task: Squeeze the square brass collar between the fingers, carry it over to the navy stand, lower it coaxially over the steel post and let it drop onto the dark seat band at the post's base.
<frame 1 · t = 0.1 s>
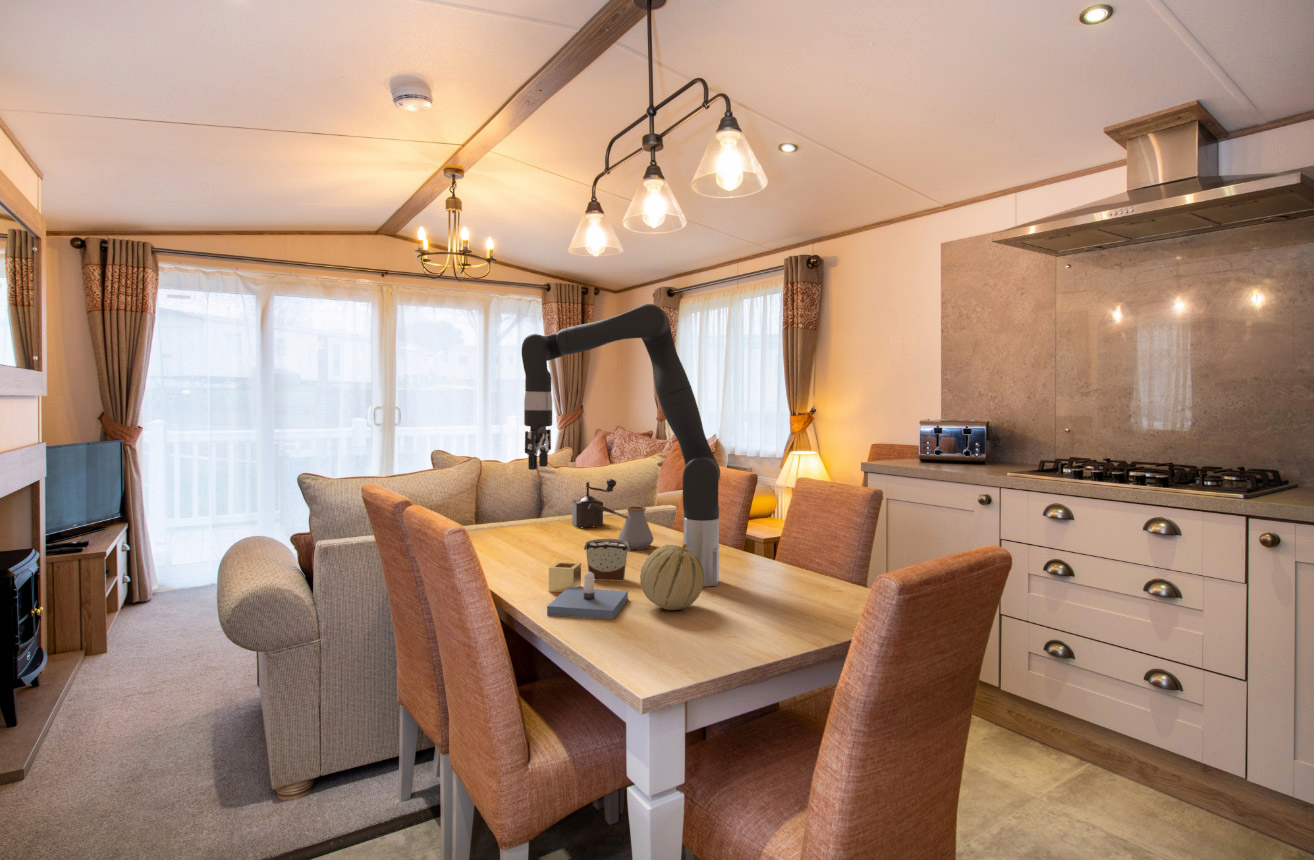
hand: (538, 468, 182), 29 cm above the table, tool pointing down, fingers open, 8 cm apart
food container: (608, 578, 180), on the table
post stand: (589, 606, 154), on the table
cantaloupe: (672, 609, 154), on the table
brass collar: (565, 588, 169), on the table
manual coffee grinder: (594, 525, 255), on the table
coffee pot: (620, 548, 216), on the table
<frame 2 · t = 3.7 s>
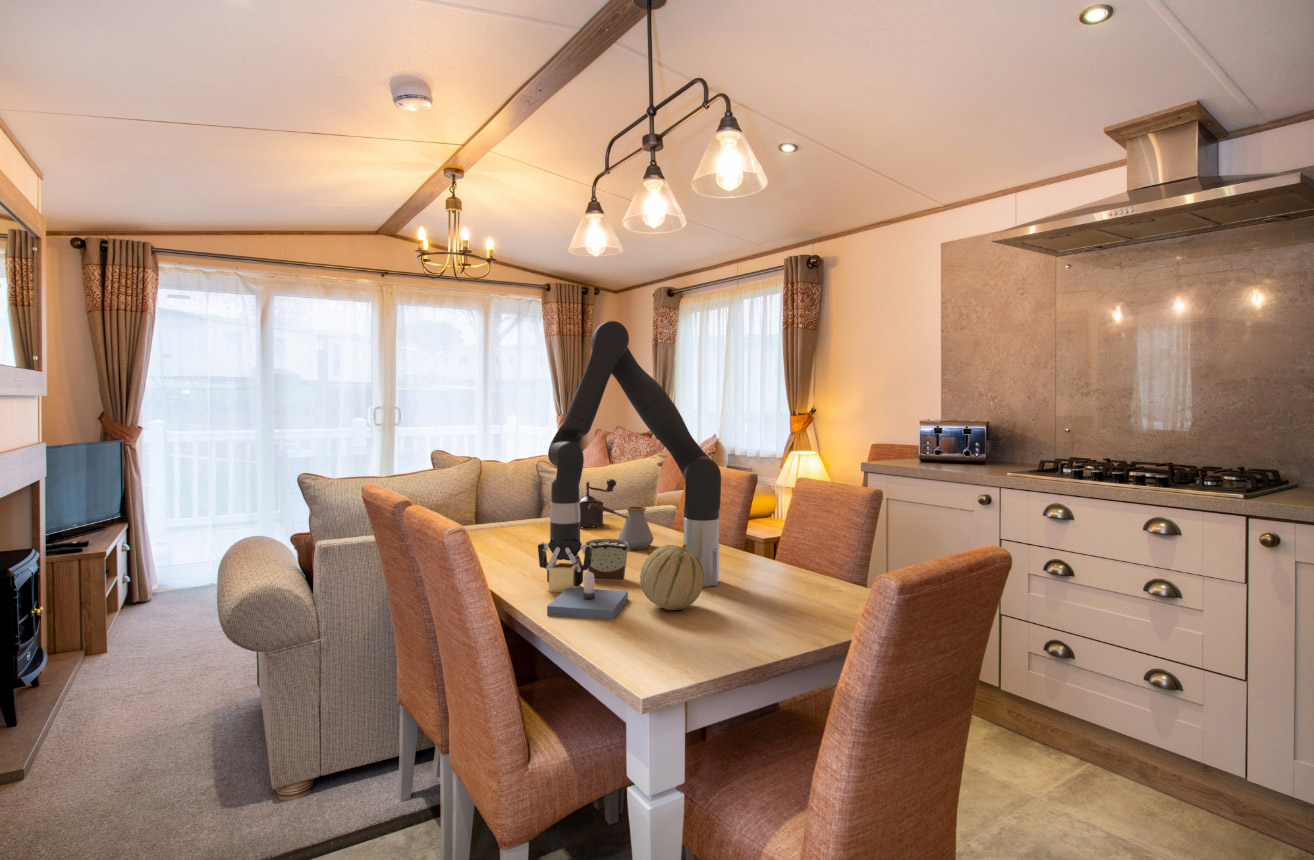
hand: (564, 584, 169), 1 cm above the table, tool pointing down, fingers closed on brass collar, 6 cm apart
brass collar: (565, 588, 169), on the table, touching gripper
everything else where it was.
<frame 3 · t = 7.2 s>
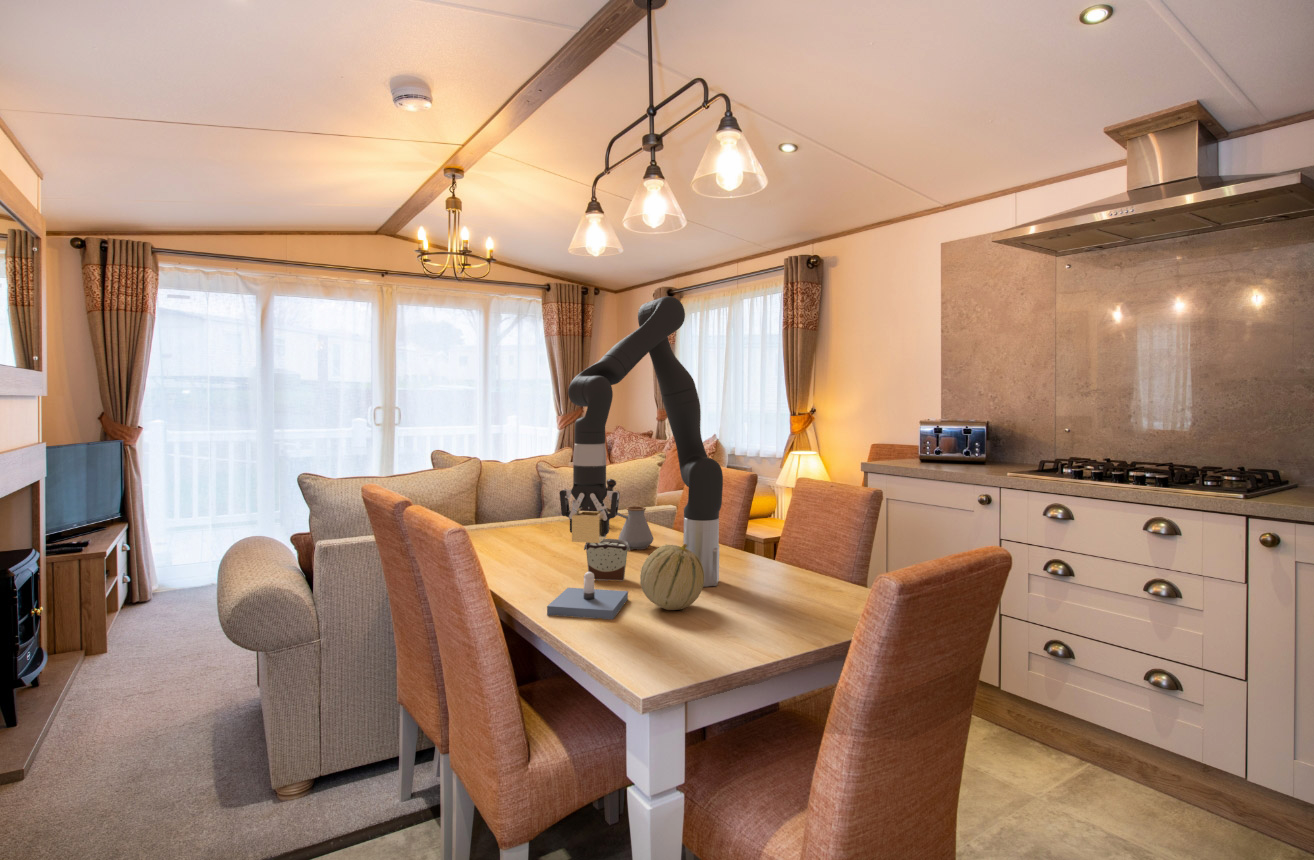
hand: (589, 535, 154), 17 cm above the table, tool pointing down, fingers closed on brass collar, 6 cm apart
brass collar: (589, 539, 154), point 16 cm above the table, touching gripper
everything else where it was.
when the fingers open (4 cm above the table, at t = 11.1 s): brass collar drops 1 cm, resting on post stand.
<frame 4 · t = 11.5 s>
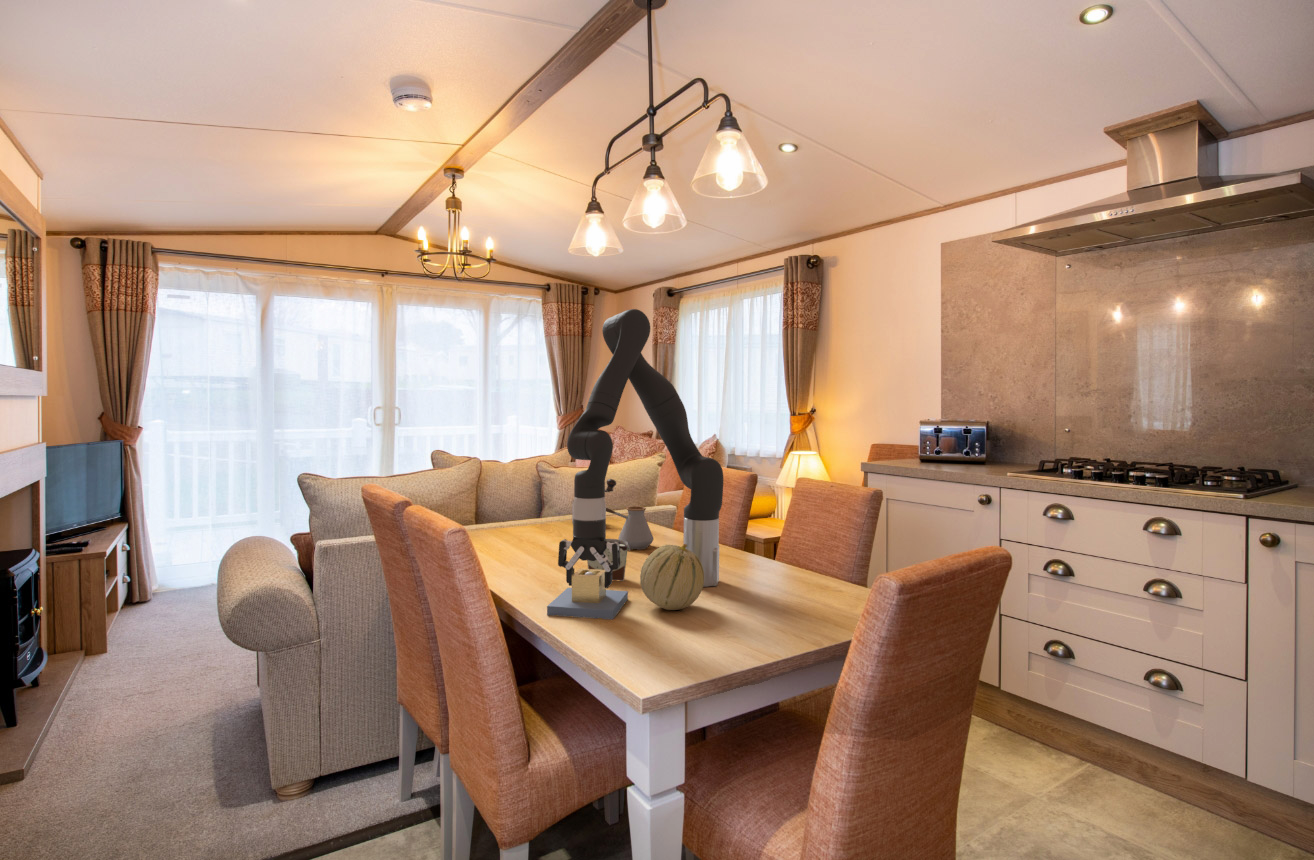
hand: (589, 585, 154), 5 cm above the table, tool pointing down, fingers open, 8 cm apart
brass collar: (589, 598, 154), point 2 cm above the table, touching post stand
everything else where it was.
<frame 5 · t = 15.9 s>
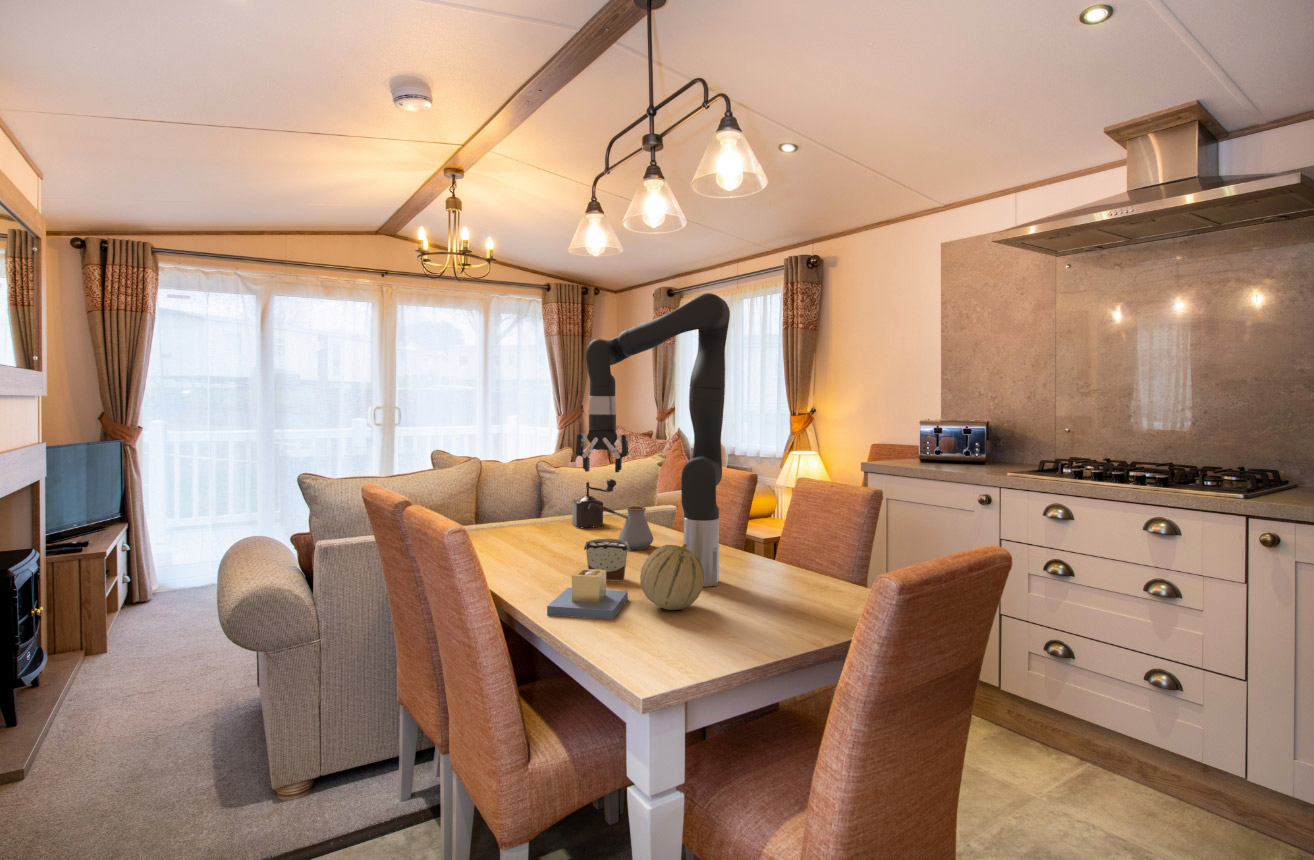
hand: (602, 471, 183), 28 cm above the table, tool pointing down, fingers open, 8 cm apart
nothing on the table moved.
at the end: brass collar 0.0 cm from the post stand (horizontally); brass collar point 2.0 cm above the table; brass collar tilted 0° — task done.
